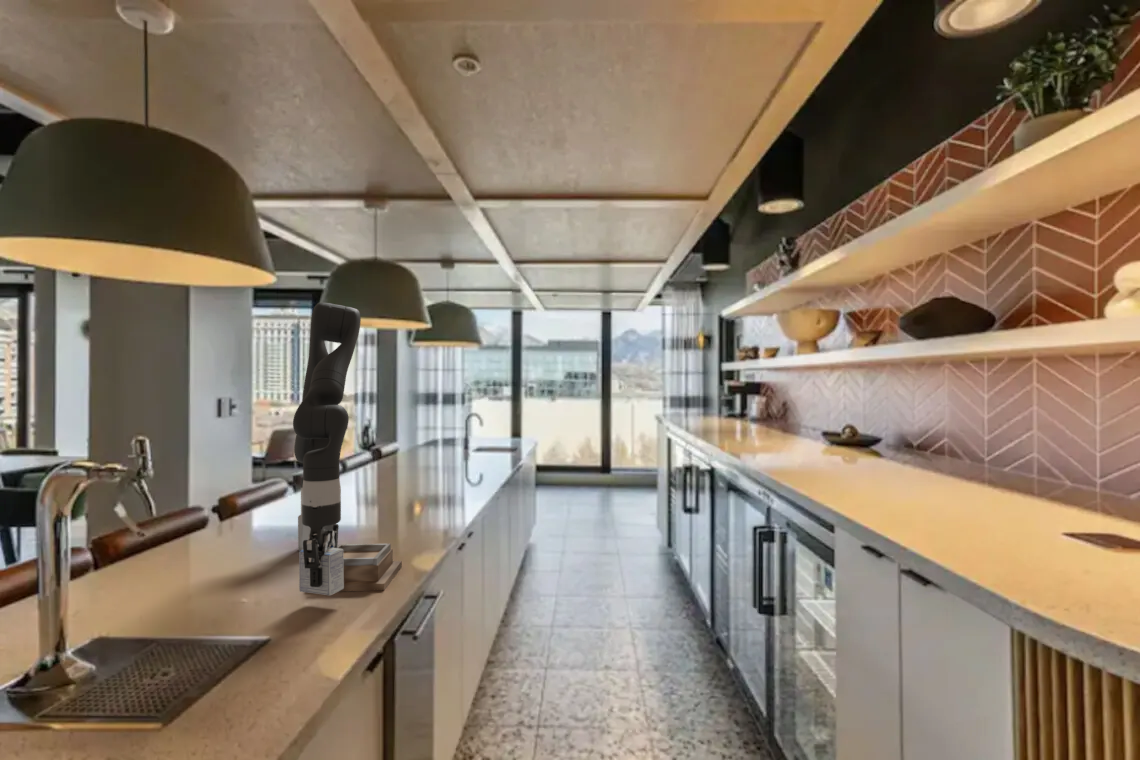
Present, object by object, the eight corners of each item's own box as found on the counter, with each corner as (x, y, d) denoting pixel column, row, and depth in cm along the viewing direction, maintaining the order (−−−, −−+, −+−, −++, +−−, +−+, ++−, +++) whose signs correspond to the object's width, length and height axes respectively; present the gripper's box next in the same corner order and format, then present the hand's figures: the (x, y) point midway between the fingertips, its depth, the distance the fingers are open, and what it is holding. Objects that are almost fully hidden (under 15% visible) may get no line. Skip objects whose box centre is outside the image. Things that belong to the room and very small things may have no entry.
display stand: (306, 592, 133) (306, 562, 133) (333, 568, 150) (332, 542, 150) (384, 590, 134) (384, 561, 134) (401, 566, 150) (401, 541, 151)
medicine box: (344, 589, 126) (344, 548, 126) (329, 596, 121) (329, 554, 121) (314, 585, 128) (314, 544, 128) (298, 592, 124) (298, 550, 124)
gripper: (316, 493, 132) (316, 570, 132) (288, 508, 117) (288, 594, 117) (350, 493, 132) (350, 569, 132) (327, 507, 118) (327, 593, 118)
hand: (321, 580), depth 125 cm, fingers closed on medicine box, 5 cm apart
